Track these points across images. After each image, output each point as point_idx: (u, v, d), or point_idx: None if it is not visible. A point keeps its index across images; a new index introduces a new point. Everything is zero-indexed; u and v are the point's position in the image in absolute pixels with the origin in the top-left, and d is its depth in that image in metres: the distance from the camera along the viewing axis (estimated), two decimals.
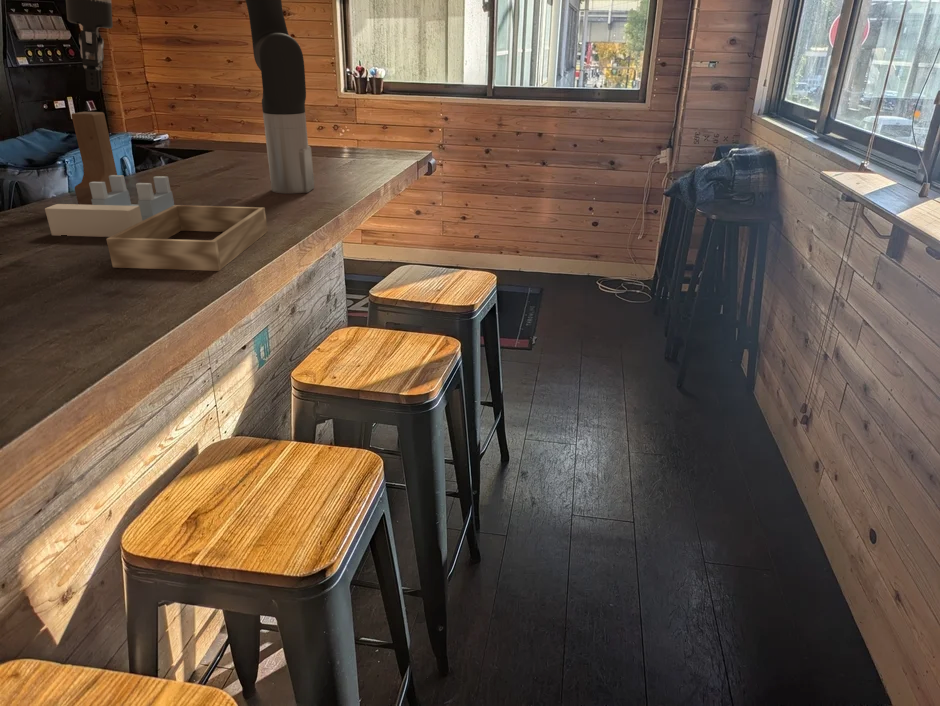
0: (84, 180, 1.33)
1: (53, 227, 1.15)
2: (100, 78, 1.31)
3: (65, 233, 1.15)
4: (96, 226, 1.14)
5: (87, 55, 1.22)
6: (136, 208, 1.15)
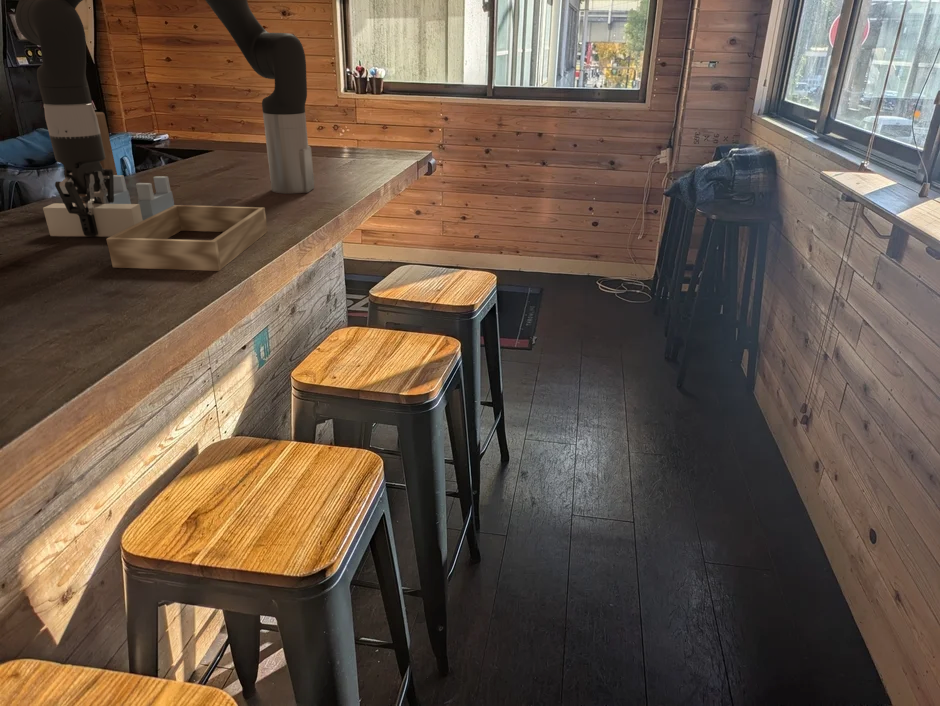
0: None
1: (51, 227, 1.14)
2: None
3: (64, 232, 1.14)
4: (96, 225, 1.14)
5: None
6: (136, 206, 1.15)
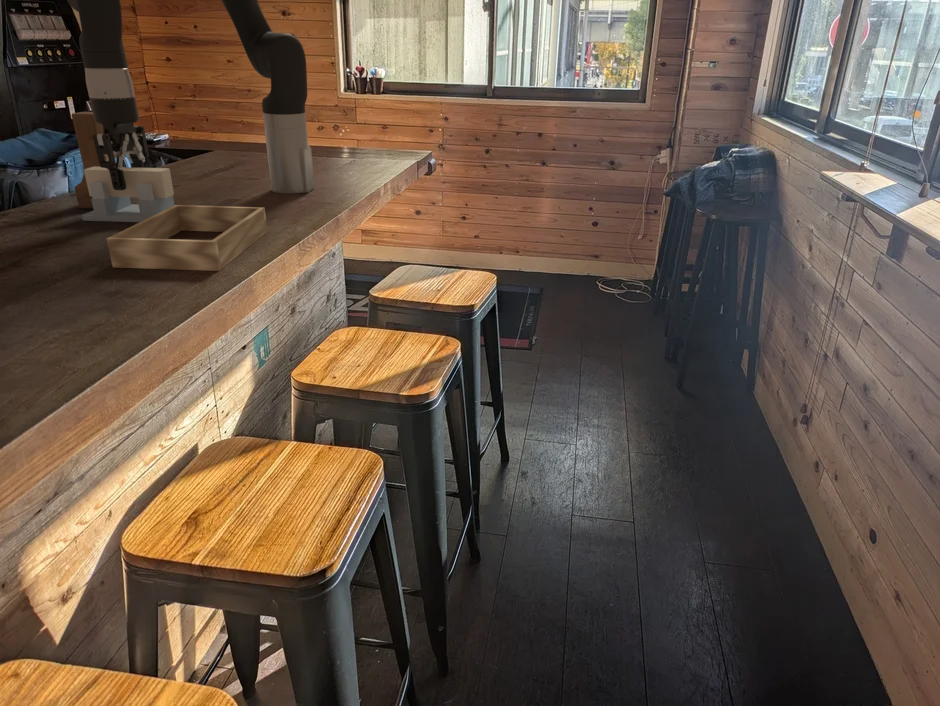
0: (84, 180, 1.33)
1: None
2: None
3: None
4: (130, 186, 1.24)
5: None
6: (166, 170, 1.25)
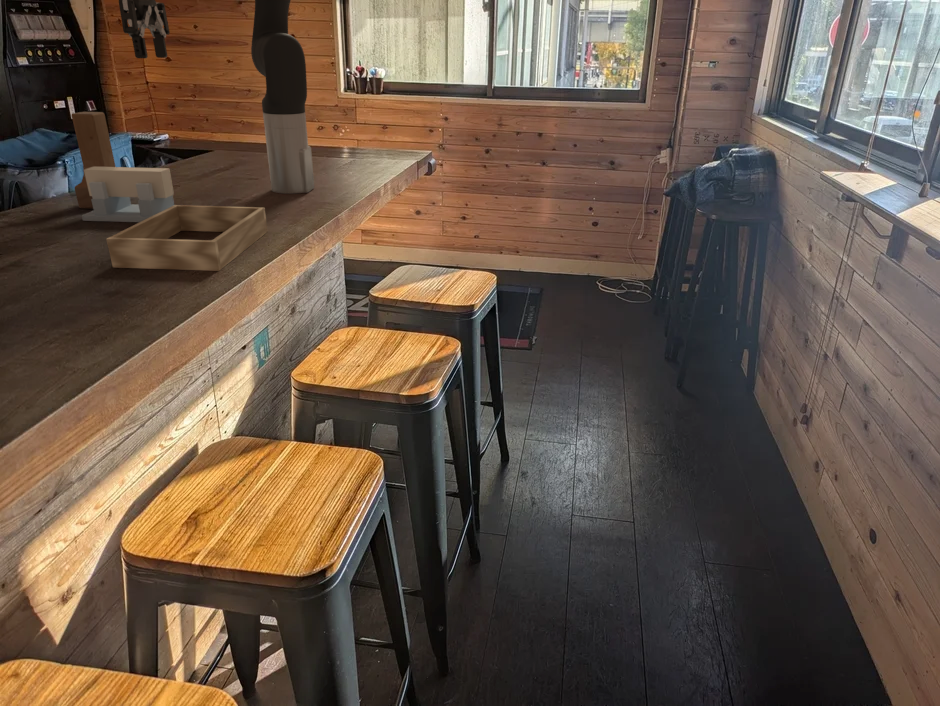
0: (84, 180, 1.33)
1: None
2: (163, 47, 1.37)
3: None
4: (130, 186, 1.24)
5: None
6: (166, 170, 1.25)
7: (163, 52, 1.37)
